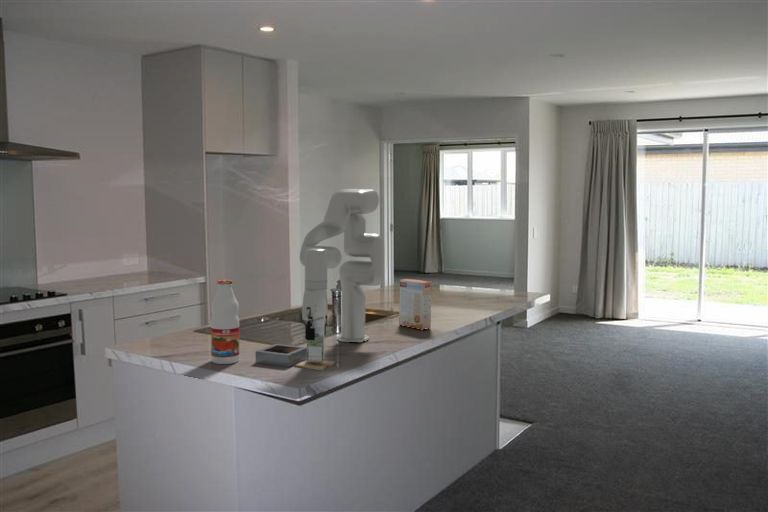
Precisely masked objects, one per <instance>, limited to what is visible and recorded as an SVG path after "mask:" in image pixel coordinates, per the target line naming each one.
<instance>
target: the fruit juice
mask: <svg viewBox="0 0 768 512" xmlns="http://www.w3.org/2000/svg"><path fill="white" fill-rule="evenodd" d="M217 286H218V287H217V290H216V294H215V296H214V298H213V300H212V302H211V308H210V309H211V313H212V317H211V320H210V346H211V347H210V353H211V355H210V358H211V362H212V363H214V364H216V365H231V364H234V363H238V362H239V361H240V318H239V315H238V312H239V308H240V307H239V306H240V304H239V301H238V300H237V298H236V295H235V292H234V290H233V288H232V286H233V279H218V280H217Z"/></svg>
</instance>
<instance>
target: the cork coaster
mask: <svg viewBox="0 0 768 512" xmlns="http://www.w3.org/2000/svg"><path fill="white" fill-rule="evenodd" d="M335 364H336V361H333V360H327V359H324V360H323V362H311V361H307V359H306V360H304V361H301V362H299V363H297V364H295V365H294V367H296V368H301V369H310V370H318V371H323V370H325V369H327V368H329V367H331V366H332V365H335Z"/></svg>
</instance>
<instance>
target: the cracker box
mask: <svg viewBox="0 0 768 512" xmlns="http://www.w3.org/2000/svg"><path fill="white" fill-rule="evenodd" d="M432 283H433V282H432V281H428V280H421V279H413V278H412V279H411V278H403V279H399V304H398V305H399V306H398V307H399V315H398V318H399V319H398V321H399V322H398V326H399V325H404V326H409V327H414V328H419V329H425V328H430V329H431V322H432V321H431V320H432V315H431V313H432Z"/></svg>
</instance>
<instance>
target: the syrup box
mask: <svg viewBox="0 0 768 512" xmlns="http://www.w3.org/2000/svg"><path fill="white" fill-rule="evenodd" d="M309 319H312V318H309ZM310 323H312V321H310ZM313 328H315V339H314V340H306V347H307V359H306V360H307V361H311V362H323V360H325V336H324V334H325V317H323V318H320V319H318V320H315V323H314V327H313Z"/></svg>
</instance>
